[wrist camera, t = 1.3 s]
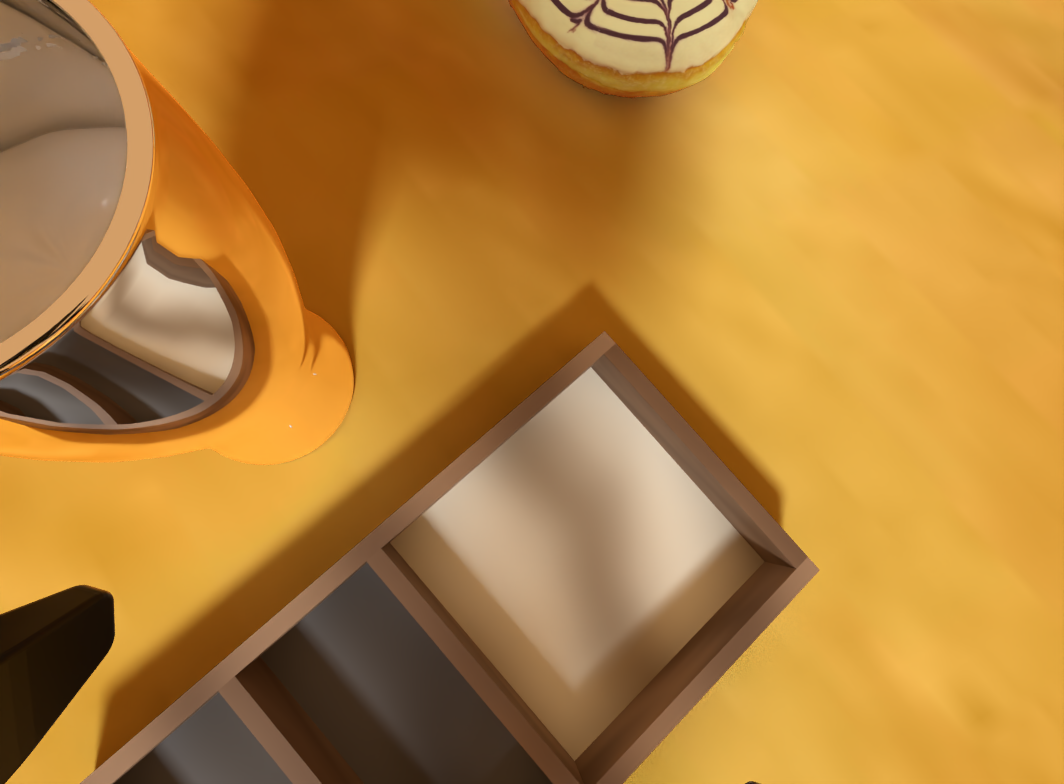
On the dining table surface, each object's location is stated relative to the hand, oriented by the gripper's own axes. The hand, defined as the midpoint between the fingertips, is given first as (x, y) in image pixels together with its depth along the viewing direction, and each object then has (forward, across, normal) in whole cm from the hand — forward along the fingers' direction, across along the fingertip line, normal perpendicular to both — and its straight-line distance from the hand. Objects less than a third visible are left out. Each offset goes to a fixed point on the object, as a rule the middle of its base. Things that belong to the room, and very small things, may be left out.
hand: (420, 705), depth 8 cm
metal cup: (+14, +10, +3) cm, 17 cm away
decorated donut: (+26, +1, -14) cm, 29 cm away
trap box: (+10, 0, +10) cm, 14 cm away
